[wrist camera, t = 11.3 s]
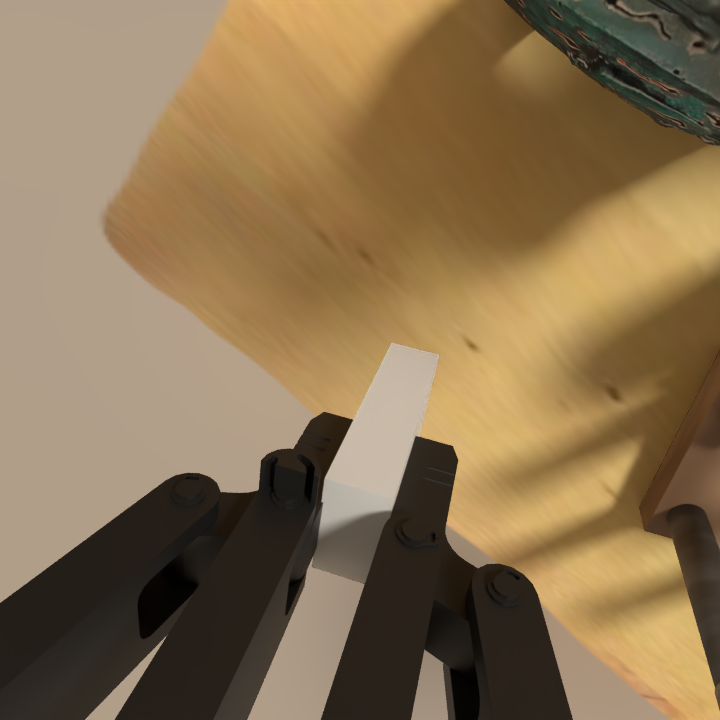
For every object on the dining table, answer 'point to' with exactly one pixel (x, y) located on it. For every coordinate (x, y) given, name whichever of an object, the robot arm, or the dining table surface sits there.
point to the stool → (694, 511)
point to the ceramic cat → (643, 53)
